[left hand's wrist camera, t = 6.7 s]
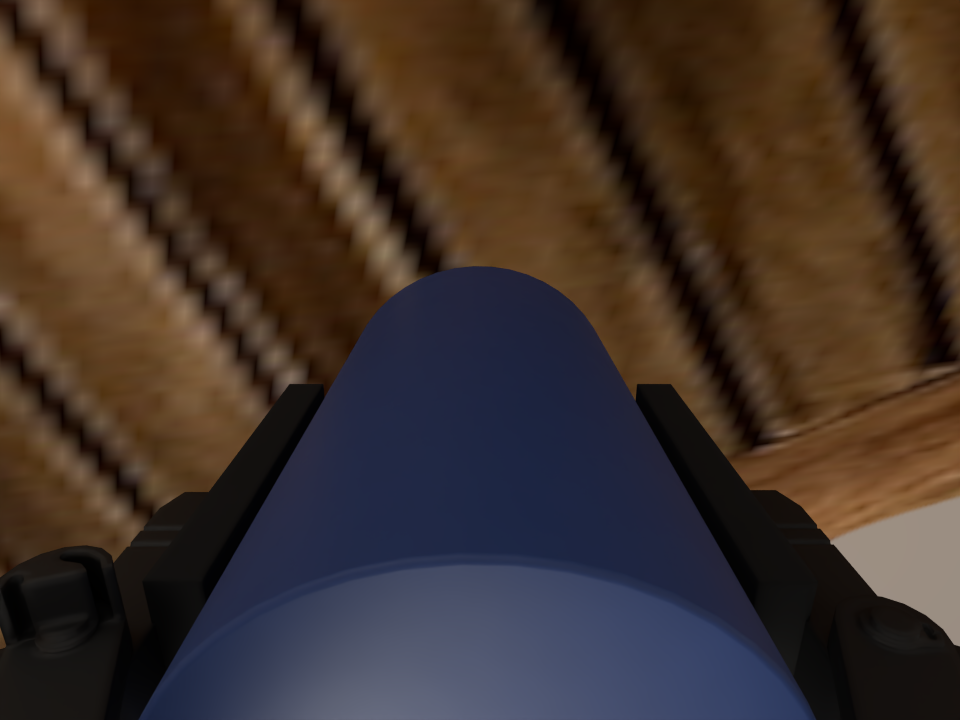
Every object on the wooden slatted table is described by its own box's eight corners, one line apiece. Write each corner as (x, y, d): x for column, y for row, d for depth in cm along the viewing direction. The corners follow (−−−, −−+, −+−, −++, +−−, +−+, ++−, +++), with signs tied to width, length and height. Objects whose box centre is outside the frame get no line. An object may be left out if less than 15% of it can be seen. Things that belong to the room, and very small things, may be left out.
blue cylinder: (486, 547, 19) (494, 1112, 8) (296, 401, 17) (-18, 865, 6) (663, 387, 17) (984, 836, 6) (470, 206, 15) (447, 389, 4)
